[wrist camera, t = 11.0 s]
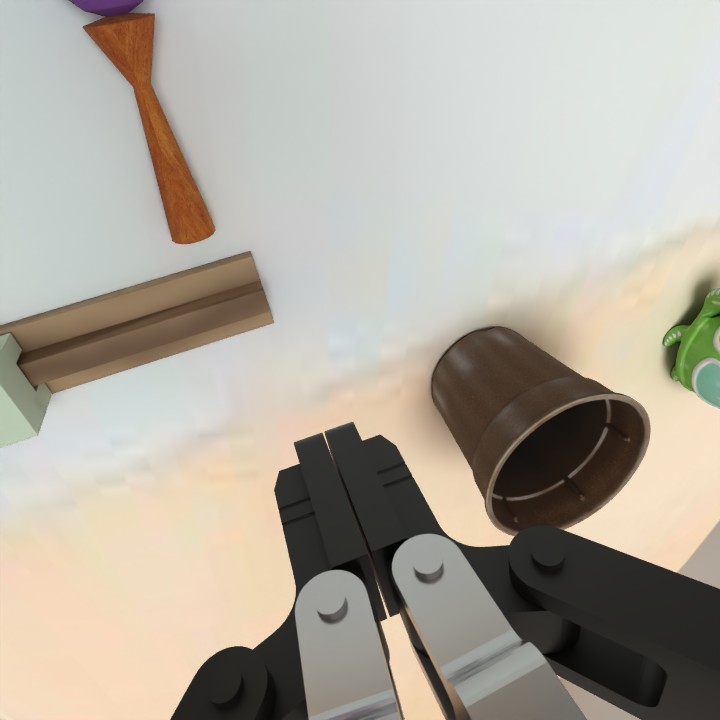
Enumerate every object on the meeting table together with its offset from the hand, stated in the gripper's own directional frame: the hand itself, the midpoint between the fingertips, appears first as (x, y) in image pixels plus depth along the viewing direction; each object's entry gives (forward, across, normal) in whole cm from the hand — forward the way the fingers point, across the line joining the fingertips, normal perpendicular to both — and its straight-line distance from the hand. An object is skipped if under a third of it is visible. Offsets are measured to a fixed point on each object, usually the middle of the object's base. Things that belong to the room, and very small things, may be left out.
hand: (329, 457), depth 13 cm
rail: (+33, +13, +10) cm, 37 cm away
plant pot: (+33, -20, +28) cm, 48 cm away
